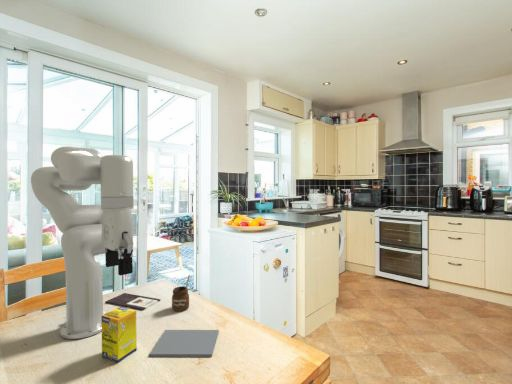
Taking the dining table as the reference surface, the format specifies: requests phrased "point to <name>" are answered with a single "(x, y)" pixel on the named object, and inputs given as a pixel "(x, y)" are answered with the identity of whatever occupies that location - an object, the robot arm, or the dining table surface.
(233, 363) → the dining table surface
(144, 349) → the dining table surface
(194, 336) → the gray mat
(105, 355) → the supplement box
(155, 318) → the dining table surface
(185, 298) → the utensil holder
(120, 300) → the chocolate bar
